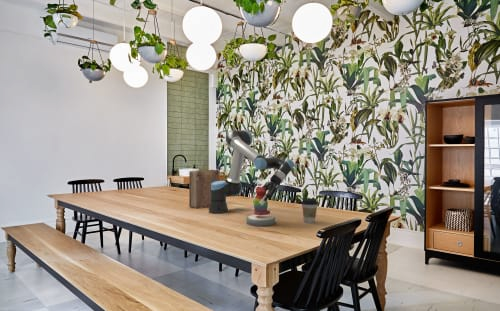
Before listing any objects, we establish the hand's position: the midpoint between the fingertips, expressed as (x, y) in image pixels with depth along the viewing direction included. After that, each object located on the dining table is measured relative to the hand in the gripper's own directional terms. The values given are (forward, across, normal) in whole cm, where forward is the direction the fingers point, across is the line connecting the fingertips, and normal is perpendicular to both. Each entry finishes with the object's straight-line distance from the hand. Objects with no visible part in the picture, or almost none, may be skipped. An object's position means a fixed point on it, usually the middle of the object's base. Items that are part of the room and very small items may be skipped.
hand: (257, 203), depth 229 cm
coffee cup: (-15, -10, -34) cm, 39 cm away
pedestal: (+7, 0, -12) cm, 14 cm away
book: (+15, +79, -4) cm, 81 cm away
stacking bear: (+3, 0, -8) cm, 8 cm away
